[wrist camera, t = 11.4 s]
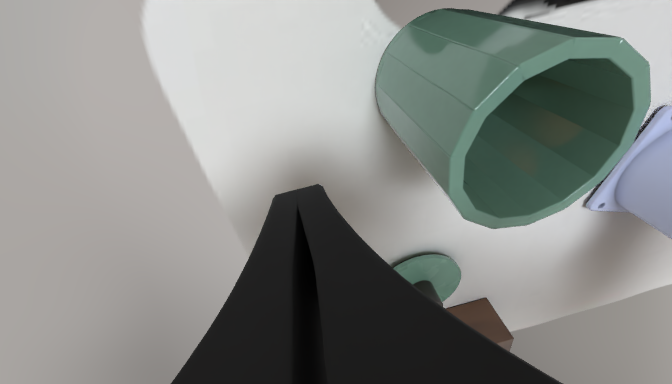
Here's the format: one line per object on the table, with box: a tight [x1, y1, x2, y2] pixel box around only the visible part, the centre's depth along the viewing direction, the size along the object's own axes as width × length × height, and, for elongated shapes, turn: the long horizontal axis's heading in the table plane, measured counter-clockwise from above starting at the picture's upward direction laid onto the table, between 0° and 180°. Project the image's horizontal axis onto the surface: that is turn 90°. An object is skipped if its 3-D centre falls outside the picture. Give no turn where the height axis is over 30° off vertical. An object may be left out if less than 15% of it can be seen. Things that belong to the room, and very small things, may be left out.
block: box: [446, 298, 514, 351], centre depth 28 cm, size 4×4×4 cm
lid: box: [393, 254, 461, 307], centre depth 24 cm, size 7×7×3 cm
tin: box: [375, 8, 651, 229], centre depth 12 cm, size 6×6×8 cm
